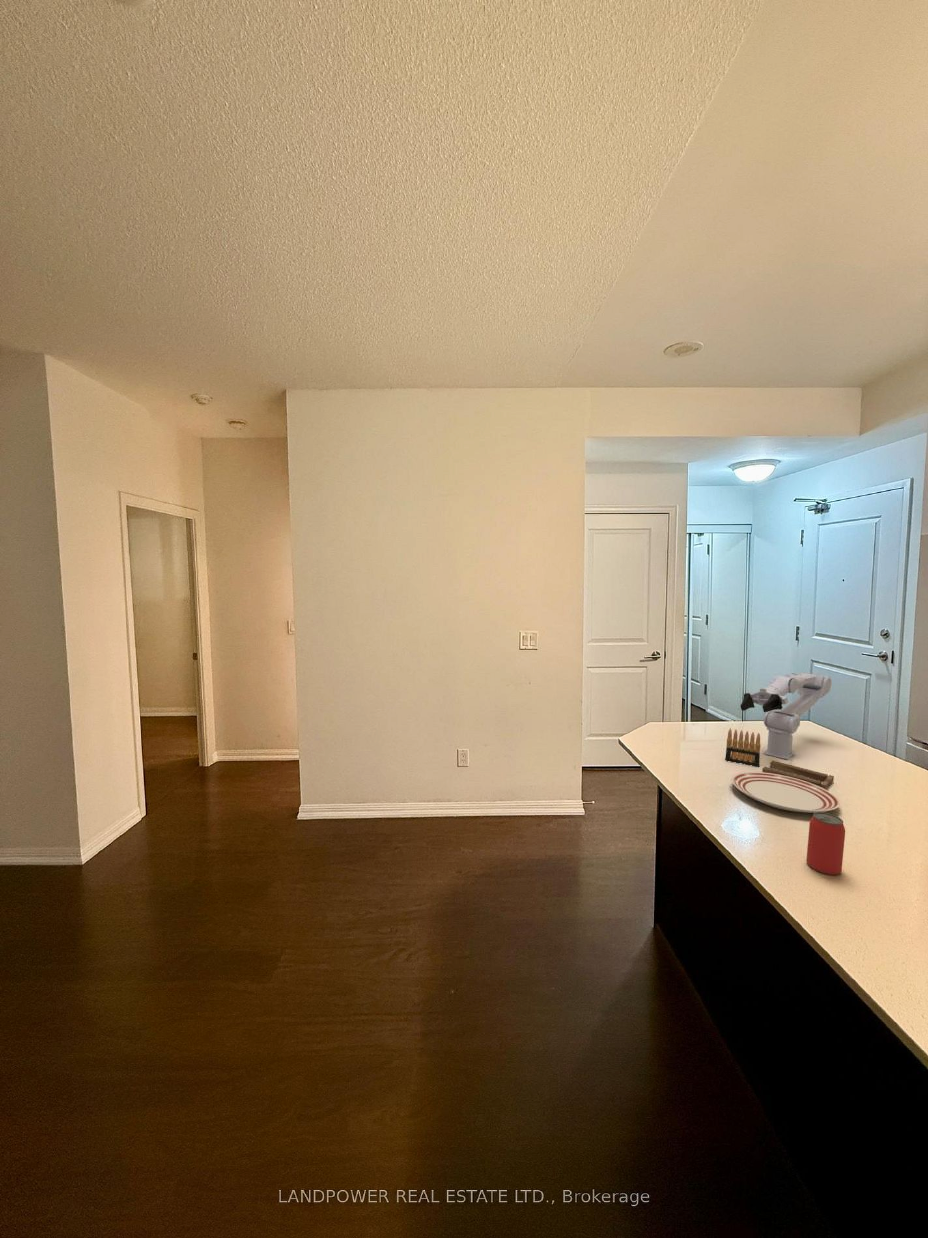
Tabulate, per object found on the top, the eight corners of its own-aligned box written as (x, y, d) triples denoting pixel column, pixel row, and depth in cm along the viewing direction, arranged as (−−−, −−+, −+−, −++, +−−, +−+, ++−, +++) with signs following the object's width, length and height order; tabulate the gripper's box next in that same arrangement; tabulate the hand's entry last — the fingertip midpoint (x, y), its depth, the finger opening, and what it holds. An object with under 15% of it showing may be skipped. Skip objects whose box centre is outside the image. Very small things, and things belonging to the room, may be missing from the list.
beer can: (799, 859, 115) (803, 811, 114) (825, 859, 116) (829, 810, 115) (821, 877, 109) (826, 825, 108) (849, 876, 109) (854, 824, 108)
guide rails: (772, 765, 173) (772, 760, 173) (833, 782, 160) (833, 776, 160) (762, 774, 166) (762, 768, 165) (825, 791, 153) (825, 785, 152)
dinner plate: (746, 772, 167) (746, 763, 167) (846, 800, 148) (847, 789, 147) (717, 797, 148) (718, 787, 148) (829, 832, 128) (830, 820, 128)
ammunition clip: (759, 765, 173) (761, 732, 172) (759, 767, 172) (761, 734, 171) (725, 759, 179) (727, 727, 178) (724, 760, 177) (727, 728, 176)
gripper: (749, 682, 183) (729, 697, 177) (790, 683, 171) (771, 699, 164) (754, 700, 184) (734, 715, 177) (796, 702, 171) (776, 718, 165)
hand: (752, 708), depth 171 cm, fingers open, 7 cm apart
